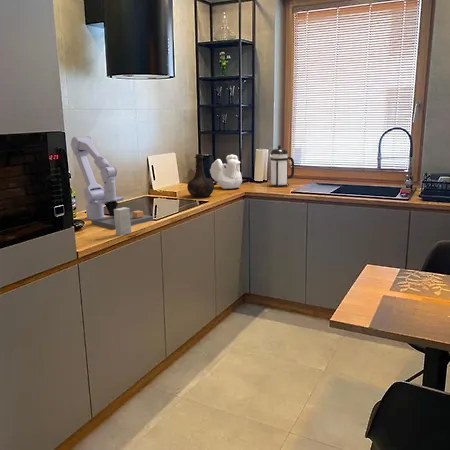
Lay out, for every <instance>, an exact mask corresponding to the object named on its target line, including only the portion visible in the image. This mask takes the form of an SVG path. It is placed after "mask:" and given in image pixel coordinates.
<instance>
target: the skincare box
mask: <svg viewBox="0 0 450 450" xmlns="http://www.w3.org/2000/svg"><path fill="white" fill-rule="evenodd" d="M130 212H131V211H130V207H126V206H125V207H117V208H116V209H114V218H115V229H114V230H115V235H117V236H120V237H121V236H125V235H128V234H129V235H130V234H132V226H131V222H130Z"/></svg>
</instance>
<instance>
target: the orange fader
mask: <svg viewBox="0 0 450 450" xmlns="http://www.w3.org/2000/svg"><path fill="white" fill-rule="evenodd" d="M131 212H132V217H135V218H139V217H143V215H144V211H143V210H134V211H131Z"/></svg>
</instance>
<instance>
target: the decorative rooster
mask: <svg viewBox="0 0 450 450" xmlns="http://www.w3.org/2000/svg"><path fill="white" fill-rule="evenodd" d="M238 158H239V157H238V156H237V155H236V154H229V155H227V156H226V157H225V159H226V163H223V162H222V160H221V159H220V158H217V159H216V160H214V162H213V163H211V166H210V169H209V174H210V176H211V178H212V179H213V180H214V181H215V182H217V183H218V185H219V186H220V187H221V188H222V189H224V190H227V189H229V190H230V189H237V188H239V187H240V186H241V185H242V183H243V178H242V172H241V171H240V170H241V167H240V166H241V165H240V164H241V161H240V160H239V159H238Z"/></svg>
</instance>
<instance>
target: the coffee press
mask: <svg viewBox="0 0 450 450" xmlns="http://www.w3.org/2000/svg"><path fill="white" fill-rule="evenodd" d="M281 147H282V146H281V145H280V144H279V145H278V146H277V148H273V149H271V151H270V155H269V157H270V183H269V186H270V187H271V186H275V188H278V187H279V186H286V187H289V186H290V184H289V182H288V180H289V179H293V177H294V175H295V160H294V159H293V157H292V156H288V154H289V151H288V150H287V149H286V148H281ZM289 160H290V161H291V167H290V168H291V169H290V170H291V171H290V172H291V174H290V175H289V176H288V173H289V172H288V170H289V168H288V167H289V165H288V164H289Z"/></svg>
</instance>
